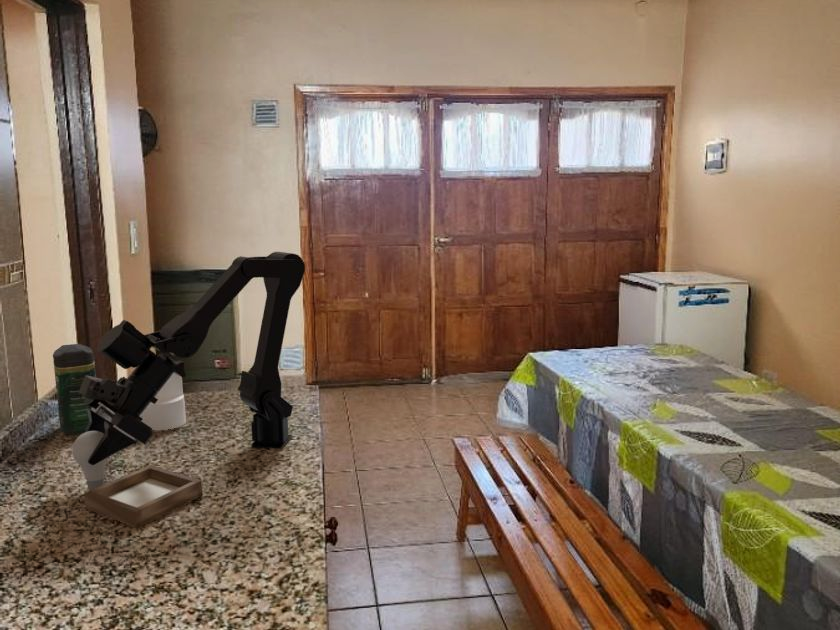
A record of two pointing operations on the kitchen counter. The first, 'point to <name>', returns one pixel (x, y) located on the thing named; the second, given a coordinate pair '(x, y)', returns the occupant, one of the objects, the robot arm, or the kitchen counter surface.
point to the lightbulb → (82, 453)
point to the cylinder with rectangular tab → (167, 406)
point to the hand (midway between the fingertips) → (84, 458)
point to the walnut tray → (143, 495)
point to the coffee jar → (72, 385)
